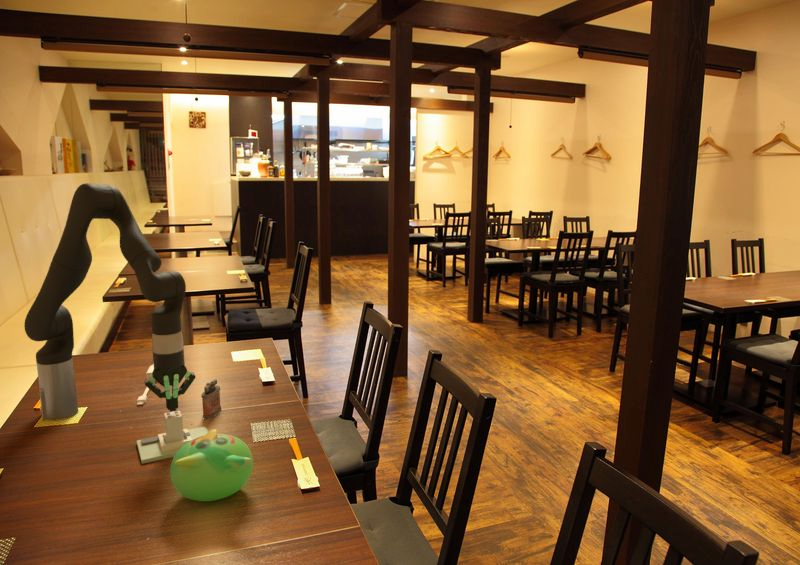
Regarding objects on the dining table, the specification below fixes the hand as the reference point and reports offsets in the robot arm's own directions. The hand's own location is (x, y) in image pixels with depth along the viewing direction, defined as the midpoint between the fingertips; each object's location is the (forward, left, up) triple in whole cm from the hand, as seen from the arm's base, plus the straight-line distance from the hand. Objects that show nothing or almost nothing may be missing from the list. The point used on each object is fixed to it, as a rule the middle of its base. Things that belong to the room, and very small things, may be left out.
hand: (172, 410), depth 155 cm
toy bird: (+4, -29, -11) cm, 31 cm away
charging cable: (0, +48, -11) cm, 50 cm away
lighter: (+13, +16, -11) cm, 23 cm away
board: (0, 0, -10) cm, 10 cm away
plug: (0, 0, -9) cm, 9 cm away
